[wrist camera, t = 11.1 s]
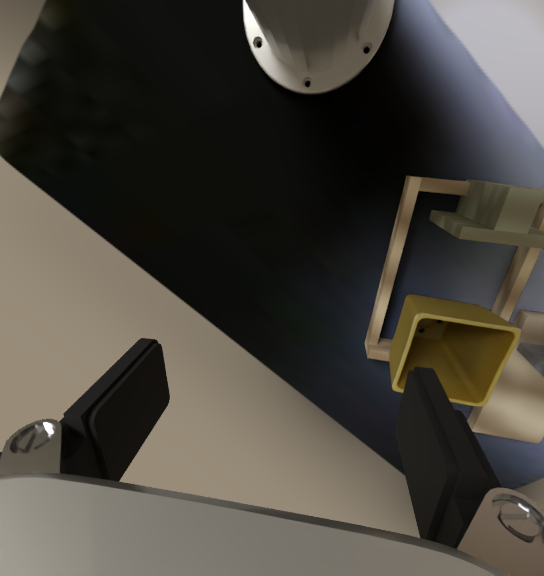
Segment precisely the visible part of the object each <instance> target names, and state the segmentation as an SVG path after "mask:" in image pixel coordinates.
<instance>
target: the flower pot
mask: <svg viewBox="0 0 544 576" xmlns="http://www.w3.org/2000/svg"><path fill="white" fill-rule="evenodd" d="M437 320H442V322H440V323H438V322H437ZM421 328H423V329H424V331H423V332H419V329H421ZM520 334H521V329H519V328H517V327H516V326H514V325H513V324H511V323H509V322H508V321H506V320H505V319H503V318H501V317H500V316H498V315H496V314H495V313H493V312H491V311H490V310H488V309H486V308H484V307H481V306H478V305H475V304H470V303H465V302H458V301H452V300H445V299H439V298H432V297H426V296H420V295H414V294H409V295H407V296H406V298H405V301H404V305H403V308H402V311H401V315H400V318H399V321H398V325H397V328H396V331H395V334H394V337H393V340H392V343H391V347H390V353H389V362H390V373H391V382H392V388H393V390H394V391H397V392H401V393H403V391H404V387H405V382H406V378H407V373H408V371H409V370H413V369H414V367H416V366H417V367H426V368H433V369H434V370H435V372H436V374H437V376H438V378H439V380H440V382H441V384H442V386H443V388H444V390H445V392H446V394H447V396H448V398H449V400H450V402H455V403H460V404H465V405H470V406H485V405H486V404H487V402H488V400H489V398H490V396H491V394H492V392H493V389H494V387H495V385H496V383H497V381H498V378H499V376H500V374H501V372H502V370H503V368H504V366H505V364H506V362H507V360H508V359H509V357H510V355H511V353H512V351H513V349H514V347H515V345H516V344H517V342H518V340H519V337H520Z"/></svg>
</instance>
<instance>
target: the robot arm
mask: <svg viewBox="0 0 544 576" xmlns="http://www.w3.org/2000/svg"><path fill="white" fill-rule="evenodd" d="M394 1H395V0H243V20H244V26H245V31H246V36H247V39H248V42H249V45H250V48H251V51H252V53H253V54H254V56H255V58H256V60H257V62H258V63H259V65H260V66H261V68H262V69H263V70H264V72H265V73H266V74H267V75H268V76H269V77H270V78H271V79H272V80H273V81H274V82H276V83H277V84H279V85H280V86H282V87H283V88H285V89H287V90H290V91H293V92H295V93H300V94H307V95H313V94H323V93H326V92H329V91H333V90H336V89H338V88H339V87H341V86H343V85H345V84H347V83H348V82H350V81H351V80H352V79H353V78H355V77H356V76H357V75H358V74H359V73H360V72H361V71H362V70H363V69H364V68H365V67H366V66H367V64H368V63H369V62H370V61H371V60H372V58H373V56H374V55H375V53H376V52H377V50H378V48H379V47H380V45H381V43H382V40H383V38H384V36H385V34H386V31H387V28H388V26H389V23H390V20H391V17H392V12H393V6H394ZM260 42H261V43H262V46H261V48H257V45H258V43H260ZM365 48H368V49H369V53H368V54H365V53H364V52H363V50H364V49H365ZM308 81H309V82H310V83H311V85H310V86H309V87H306V86H305V83H306V82H308ZM169 399H170V395H169V388H168V382H167V376H166V370H165V363H164V357H163V351H162V346H161V344H158V341H157V340H155V339H146V338H141V339H140V340H138V341H137V342H136V343H135V344H134V345H133V346H132V347H131V348H130V349H129V350H128V351H127V352H126V353H125V354H124V355H123V356H122V357H121V358H120V359H119V360H118V361H117V362H116V363H115V364H114V365H113V366H112V367H111V368H110V369H109V370H108V371H107V372H106V373H105V374H104V375H103V376H102V377H101V378H100V379H99V380H98V381H97V382H96V383H94V385H92V386H91V387H90V388H89V390H87V391H86V392H85V393H84V394H83V395H82V396H81V397H80V398H79V399H78V400H77V401H76V402H75V403H74V404H73V405H72V406H71V407H70V408H69V409H68V410H67V411H66V412H65V413H64V418H63V419H62V420H60V421H59V422H58V421H57V420H54V419H42V420H38V421H35V422H32V423H30V424H27V425H26V426H24V427H22V428H20V429H19V430H18V431H16V432H15V433H14V434H12V436H10V438H9V439H8V440H7V441H6V443H5V445H4V447H3V450H2V452H0V576H544V510H543V509H542V508H541V507H540V506H539V505H538V504H536V503H535V502H534V501H532V500H531V499H529V498H528V497H526V496H524V495H523V494H521V493H518V492H517V491H514V490H511V489H507V488H502V487H501V485H500V483H499V481H498V479H497V477H496V475H495V473H494V472H493V470H492V468H491V466H490V464H489V462H488V460H487V458H486V456H485V454H484V453H483V451H482V449H481V447H480V445H479V443H478V441H477V439H476V437H475V435H474V433H473V432H472V430H471V428H470V426H469V424H468V422H467V420H466V418H465V416H464V415H463V413H462V412H461V411H459V410H454V408H453V406H452V404H451V402H450V400H449V398H448V396H447V394H446V392H445V390H444V388H443V386H442V384H441V382H440V380H439V378H438V376H437V374H436V372H435V370H434V369H433V368H426V367H417V366H416V367H414V369H413V370H409V371H408V373H407V378H406V382H405V387H404V391H403V395H402V400H401V404H400V409H399V413H398V418H397V422H396V427H395V433H396V439H397V443H398V447H399V452H400V456H401V460H402V464H403V468H404V472H405V476H406V480H407V485H408V488H409V493H410V497H411V501H412V505H413V509H414V513H415V518H416V522H417V526H418V530H419V534H420V537H421V538H417V537H413V536H409V535H404V534H400V533H395V532H390V531H385V530H380V529H375V528H370V527H365V526H361V525H356V524H350V523H345V522H340V521H334V520H329V519H324V518H318V517H313V516H308V515H302V514H297V513H292V512H286V511H281V510H275V509H270V508H264V507H259V506H253V505H248V504H242V503H236V502H231V501H225V500H220V499H214V498H209V497H203V496H198V495H192V494H187V493H181V492H175V491H169V490H163V489H157V488H152V487H146V486H141V485H135V484H129V483H123V482H119V481H120V479H121V477H122V476H123V474H124V473H125V471H126V470H127V468H128V466H129V465H130V463H131V462H132V460H133V459H134V457H135V456H136V454H137V453H138V451H139V449H140V448H141V446H142V445H143V443H144V441H145V440H146V438H147V437H148V435H149V434H150V432H151V431H152V429H153V427H154V426H155V424H156V423H157V421H158V419H159V418H160V417H161V415H162V413H163V412H164V410H165V409H166V407H167V406H168V403H169Z"/></svg>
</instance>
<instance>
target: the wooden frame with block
mask: <svg viewBox="0 0 544 576" xmlns="http://www.w3.org/2000/svg"><path fill="white" fill-rule="evenodd" d="M418 191H426V192H436V193H445V194H455V195H461V197H460V200H459V203H458V206H457V209H456V212H446V211H436V210H431V214H430V217H429V220H430V221H432V222H433V223H435V224H436V225H438V226H439V227H441V228H442V229H444V230H446V231H447V232H449V233H450V234H452V235H453V236H455V237H456V238H458V239H464V240H473V241H481V242H489V243H498V244H506V245H515V246H518V249H517V251H516V253H515V256H514V258H513V260H512V263H511V265H510V267H509V270H508V272H507V274H506V277H505V279H504V281H503V284H502V286H501V288H500V291H499V293H498V295H497V298H496V300H495V302H494V305H493V307H492V309H491V312H493V313H495V314H496V315H498V316H500V317H501V318H503V319H505V320H506V321H509V319H510V317H511V315H512V312H513V310H514V308H515V306H516V304H517V302H518V299H519V297H520V295H521V293H522V291H523V289H524V286H525V284H526V282H527V280H528V278H529V276H530V273H531V271H532V269H533V267H534V265H535V263H536V260H537V258H538V256H539V254H540V252H541V250H542V249H544V189H538V188H527V187H521V186H515V185H509V184H503V183H497V182H489V181H479V180H468V179H466V181H456V180H446V179H435V178H425V177H415V176H406V180H405V184H404V188H403V192H402V196H401V200H400V204H399V208H398V212H397V216H396V220H395V224H394V228H393V232H392V236H391V240H390V244H389V248H388V252H387V256H386V260H385V264H384V268H383V272H382V276H381V280H380V284H379V288H378V292H377V296H376V300H375V304H374V308H373V312H372V316H371V320H370V324H369V328H368V332H367V336H366V340H365V348H366V353H367V358H371V359H377V360H383V361H389V353H390V347H391V343H392V340H391V339H385V338H379V336H380V332H381V328H382V325H383V321H384V317H385V314H386V310H387V306H388V302H389V299H390V295H391V291H392V288H393V284H394V280H395V276H396V273H397V269H398V265H399V262H400V258H401V254H402V250H403V247H404V243H405V239H406V235H407V232H408V228H409V224H410V221H411V217H412V213H413V209H414V206H415V202H416V198H417V195H418Z"/></svg>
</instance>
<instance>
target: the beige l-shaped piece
mask: <svg viewBox="0 0 544 576" xmlns="http://www.w3.org/2000/svg"><path fill="white" fill-rule="evenodd" d="M513 325H514V326H516V327H517V328H519V329H521V334H520V337H519V340H518V342H517V344H516V345H515V347H514V349H513V351H512V353H511V355H510V357H509V359H508V360H507V362H506V364H505V366H504V368H503V370H502V372H501V374H500V376H499V378H498V381H497V383H496V385H495V387H494V389H493V392H492V394H491V396H490V398H489V400H488V402H487V404H486V405H485V406H474V408H473V410H472V412H471V414H470V416H469V418H468V420H467V422H468V424H469V426H470V428H471V430H472V432H478V433H483V434H489V435H494V436H499V437H505V438H510V439H515V440H521V441H526V442H531V443H537V444H539V443H540V442H541V440H542V438H543V437H544V313H541V312H534V311H527V310H519V312H518V314H517V316H516V318H515V320H514V323H513Z"/></svg>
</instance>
